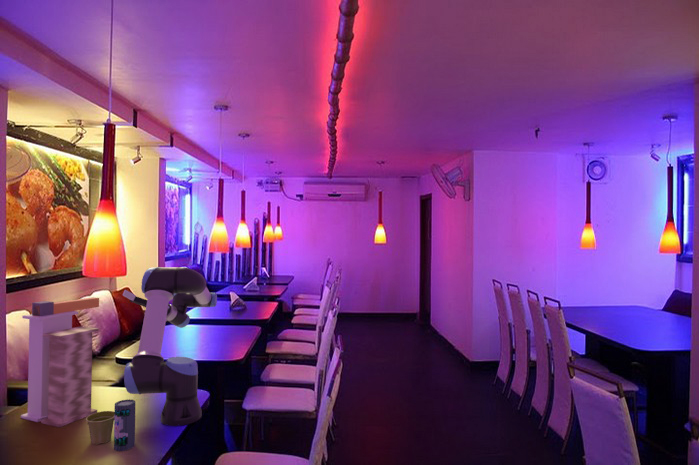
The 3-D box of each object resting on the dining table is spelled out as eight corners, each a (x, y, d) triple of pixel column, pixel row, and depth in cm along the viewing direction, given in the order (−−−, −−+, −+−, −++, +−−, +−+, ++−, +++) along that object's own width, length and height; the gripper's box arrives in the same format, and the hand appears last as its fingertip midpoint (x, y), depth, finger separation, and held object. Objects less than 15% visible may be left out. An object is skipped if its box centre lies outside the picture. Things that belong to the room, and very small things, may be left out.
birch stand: (80, 408, 187) (81, 326, 187) (97, 412, 183) (98, 328, 183) (41, 422, 172) (42, 333, 172) (58, 427, 168) (60, 336, 169)
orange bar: (91, 306, 202) (91, 295, 202) (100, 307, 200) (100, 295, 200) (32, 315, 178) (32, 302, 178) (40, 316, 176) (41, 303, 176)
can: (110, 447, 153) (111, 403, 153) (128, 441, 158) (129, 398, 158) (120, 452, 149) (121, 407, 149) (137, 445, 154) (138, 402, 154)
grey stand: (60, 404, 191) (61, 309, 192) (76, 407, 188) (78, 311, 188) (20, 417, 177) (22, 315, 177) (37, 422, 173) (39, 317, 173)
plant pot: (103, 448, 152) (103, 422, 152) (79, 445, 154) (79, 420, 154) (122, 436, 162) (122, 412, 162) (99, 433, 163) (99, 409, 163)
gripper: (182, 320, 215) (152, 302, 198) (143, 316, 225) (111, 299, 208) (188, 305, 219) (159, 287, 202) (149, 302, 228) (118, 284, 211)
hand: (135, 293), depth 205 cm, fingers open, 13 cm apart
